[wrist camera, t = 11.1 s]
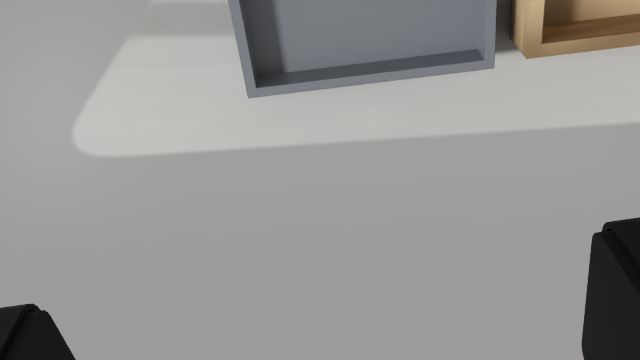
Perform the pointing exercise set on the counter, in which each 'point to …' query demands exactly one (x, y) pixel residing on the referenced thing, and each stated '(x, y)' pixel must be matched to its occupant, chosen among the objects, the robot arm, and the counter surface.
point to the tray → (573, 26)
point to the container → (358, 41)
